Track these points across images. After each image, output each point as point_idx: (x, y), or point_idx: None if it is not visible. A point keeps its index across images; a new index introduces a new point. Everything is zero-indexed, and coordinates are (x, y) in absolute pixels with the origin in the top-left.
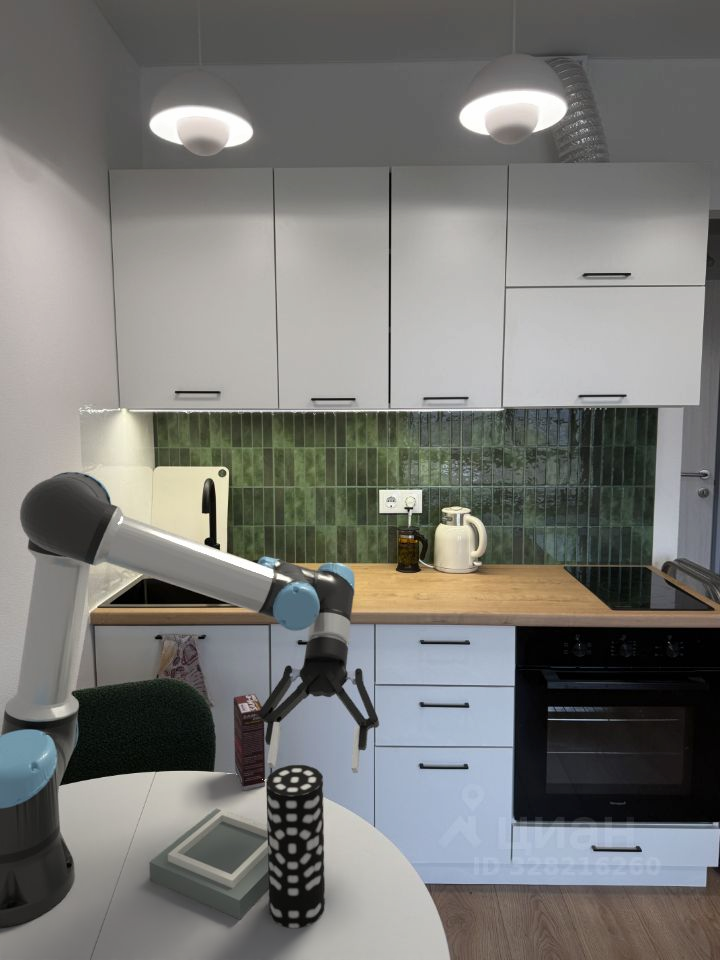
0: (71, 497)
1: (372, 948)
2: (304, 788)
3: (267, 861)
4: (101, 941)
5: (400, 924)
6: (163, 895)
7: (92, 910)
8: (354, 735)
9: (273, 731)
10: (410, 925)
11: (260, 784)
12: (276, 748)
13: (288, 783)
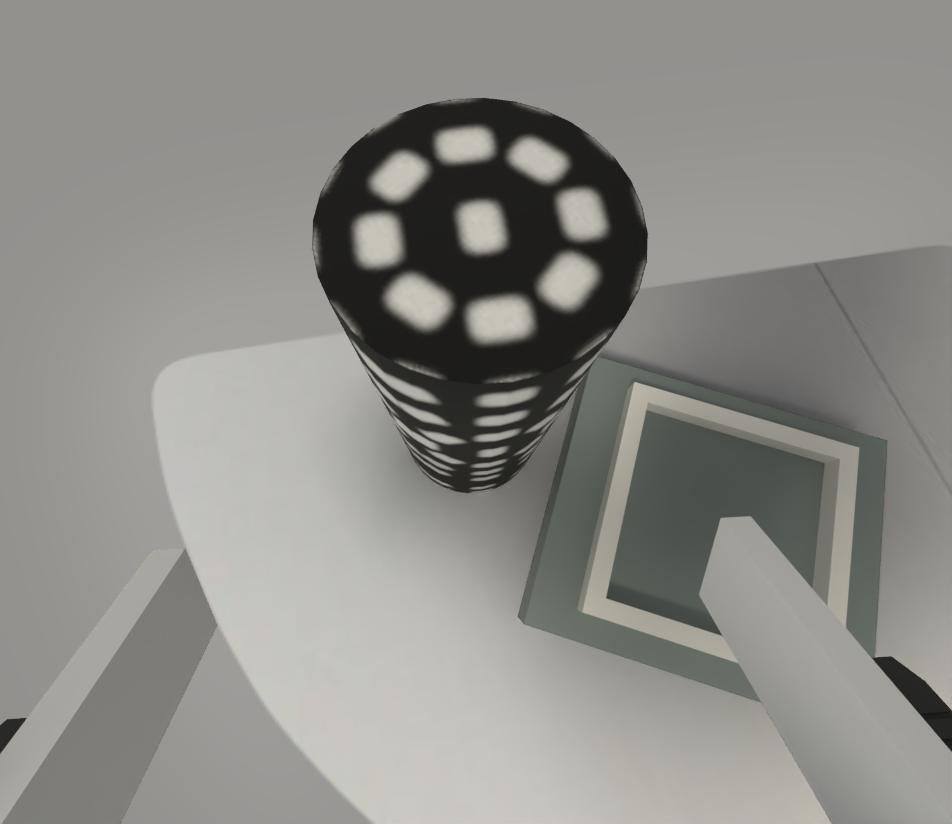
0: None
1: (288, 348)
2: (403, 162)
3: (581, 497)
4: (818, 283)
5: (229, 417)
6: (784, 410)
7: (898, 347)
8: (13, 803)
9: (917, 728)
10: (206, 418)
11: None
12: (770, 664)
13: (505, 190)
